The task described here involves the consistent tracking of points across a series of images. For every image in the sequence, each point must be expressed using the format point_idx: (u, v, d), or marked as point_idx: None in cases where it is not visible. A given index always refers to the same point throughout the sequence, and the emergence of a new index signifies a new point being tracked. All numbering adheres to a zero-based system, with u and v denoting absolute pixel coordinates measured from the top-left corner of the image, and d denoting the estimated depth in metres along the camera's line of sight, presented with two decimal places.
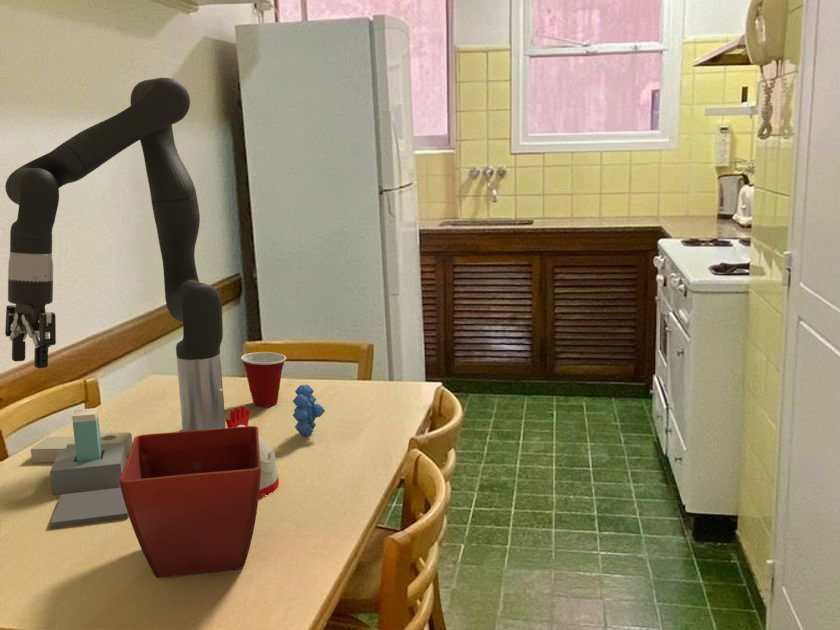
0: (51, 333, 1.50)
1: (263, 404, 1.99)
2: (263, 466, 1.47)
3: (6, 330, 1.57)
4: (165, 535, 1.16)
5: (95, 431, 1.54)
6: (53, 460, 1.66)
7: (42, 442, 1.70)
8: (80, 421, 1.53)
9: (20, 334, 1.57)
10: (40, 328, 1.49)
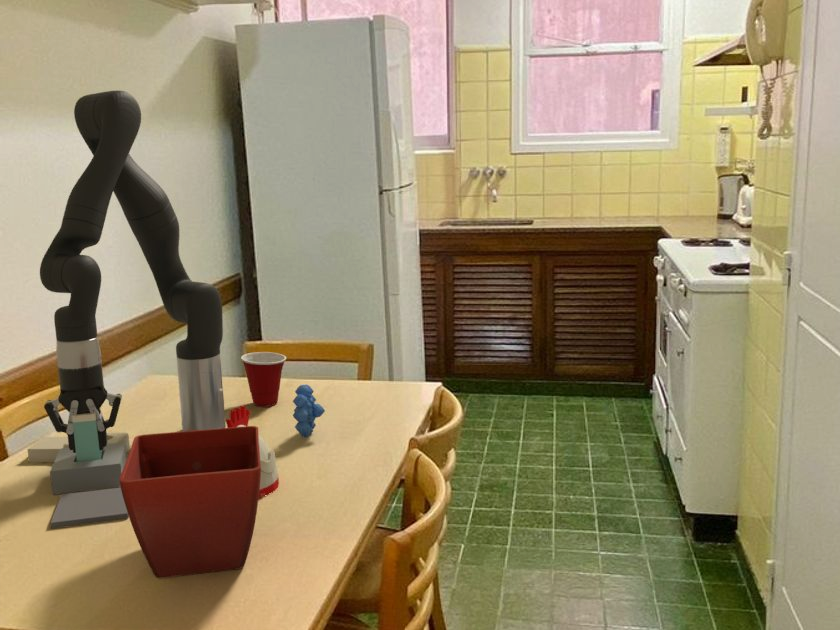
0: None
1: (263, 404, 1.99)
2: (263, 466, 1.47)
3: (57, 427, 1.53)
4: (165, 535, 1.16)
5: (95, 431, 1.54)
6: (50, 460, 1.66)
7: (39, 442, 1.70)
8: (80, 421, 1.53)
9: None
10: (113, 411, 1.55)
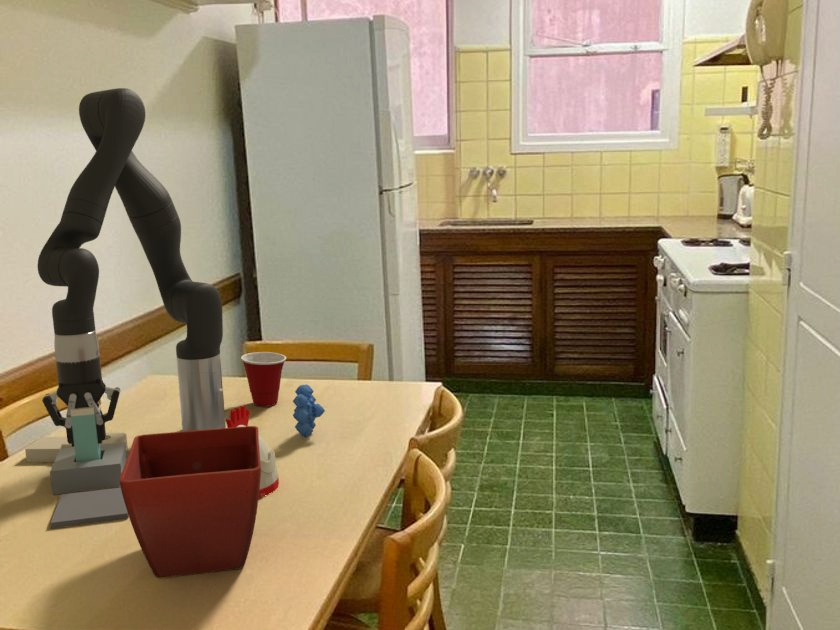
0: None
1: (263, 404, 1.99)
2: (263, 466, 1.47)
3: (55, 420, 1.52)
4: (165, 535, 1.16)
5: (93, 425, 1.54)
6: (47, 460, 1.66)
7: (37, 442, 1.70)
8: (78, 415, 1.52)
9: None
10: (111, 404, 1.54)
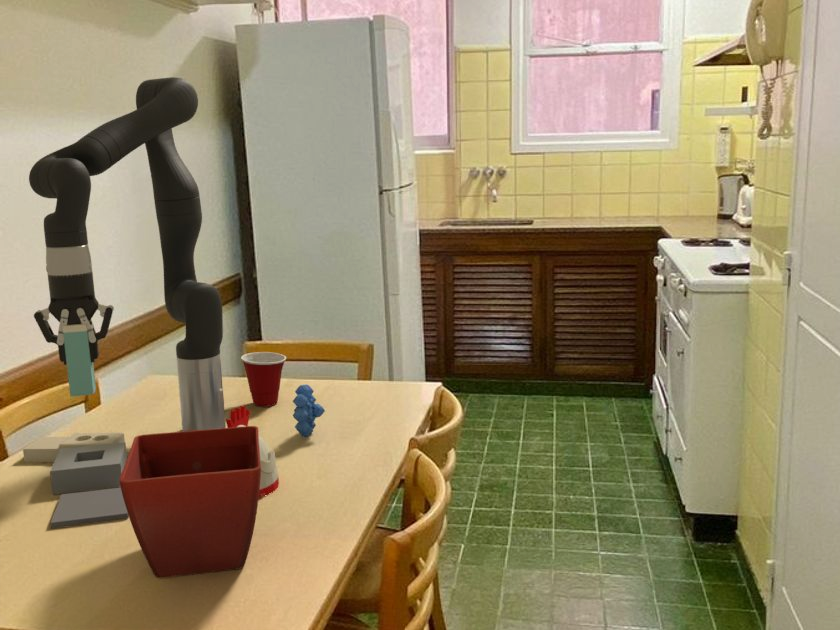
0: None
1: (263, 404, 1.99)
2: (263, 466, 1.47)
3: (47, 337, 1.49)
4: (165, 535, 1.16)
5: (86, 342, 1.50)
6: (45, 460, 1.66)
7: (35, 442, 1.70)
8: (71, 331, 1.49)
9: None
10: (104, 321, 1.51)
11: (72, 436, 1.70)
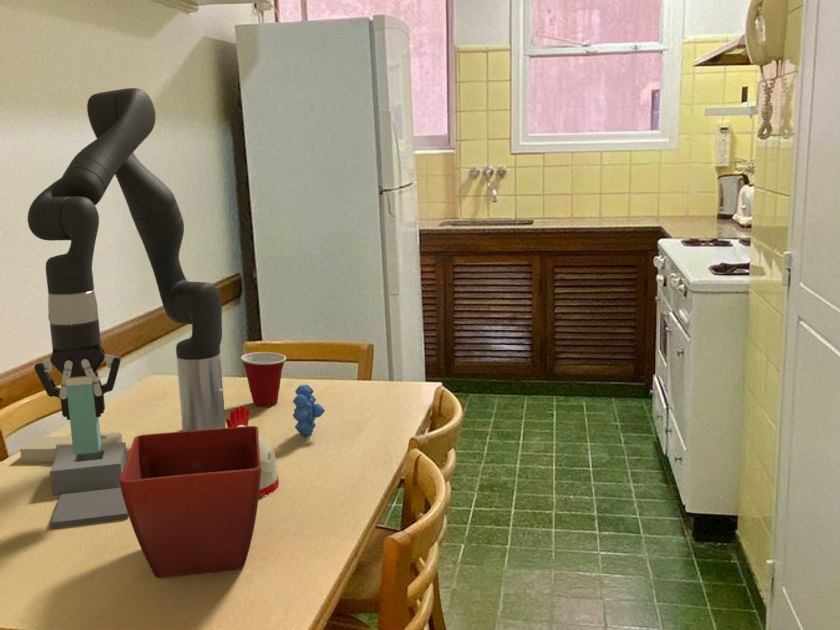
0: None
1: (263, 404, 1.99)
2: (263, 466, 1.47)
3: (48, 390, 1.37)
4: (165, 535, 1.16)
5: (91, 396, 1.38)
6: (43, 460, 1.66)
7: (32, 442, 1.70)
8: (75, 384, 1.37)
9: None
10: (111, 373, 1.39)
11: (69, 436, 1.70)
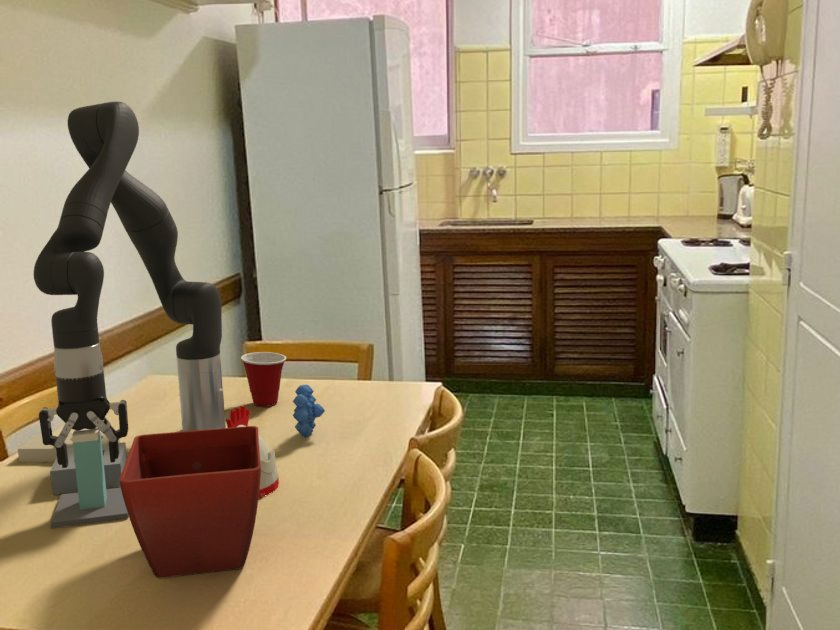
0: None
1: (263, 404, 1.99)
2: (263, 466, 1.47)
3: (45, 439, 1.38)
4: (165, 535, 1.16)
5: (97, 452, 1.40)
6: (40, 460, 1.66)
7: (29, 442, 1.70)
8: (81, 441, 1.39)
9: None
10: (121, 419, 1.41)
11: (67, 436, 1.70)
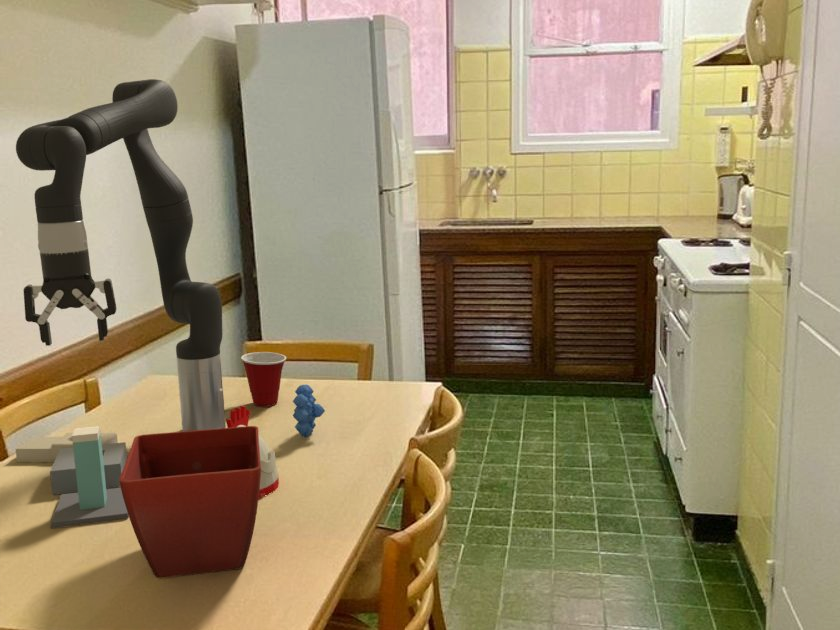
0: None
1: (263, 404, 1.99)
2: (263, 466, 1.47)
3: (28, 315, 1.38)
4: (165, 535, 1.16)
5: (97, 452, 1.40)
6: (38, 460, 1.66)
7: (27, 442, 1.70)
8: (81, 441, 1.39)
9: None
10: (108, 297, 1.41)
11: (65, 436, 1.70)
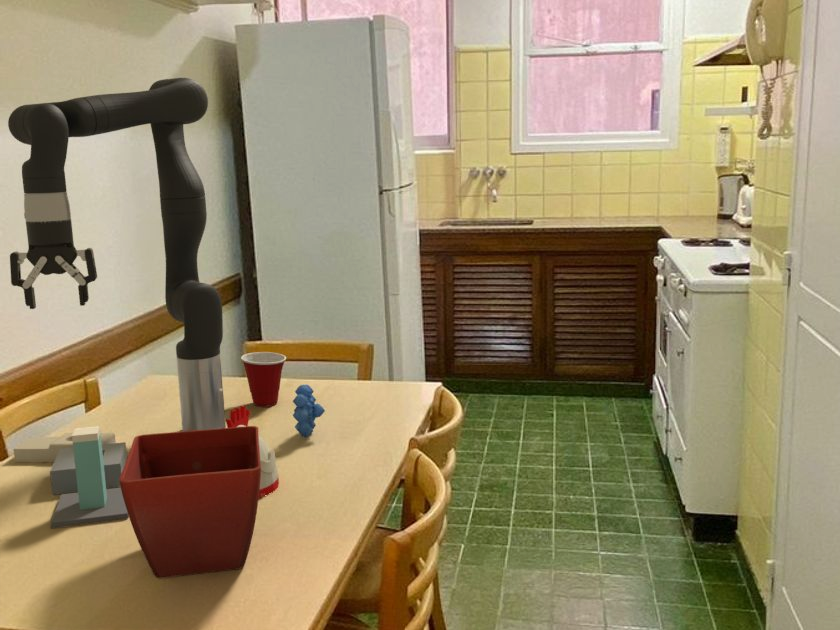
0: None
1: (263, 404, 1.99)
2: (263, 466, 1.47)
3: (13, 279, 1.48)
4: (165, 535, 1.16)
5: (97, 452, 1.40)
6: (36, 460, 1.66)
7: (25, 442, 1.70)
8: (81, 441, 1.39)
9: None
10: (88, 264, 1.51)
11: (63, 436, 1.70)
